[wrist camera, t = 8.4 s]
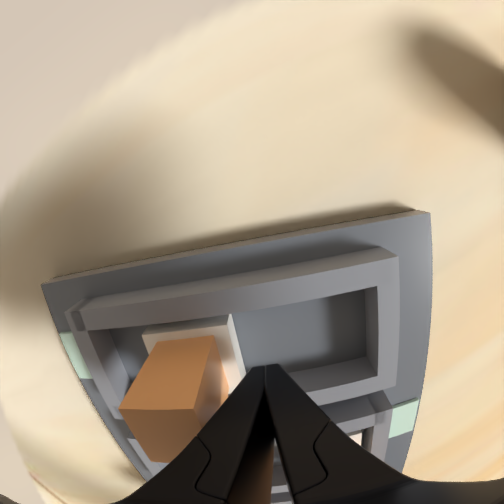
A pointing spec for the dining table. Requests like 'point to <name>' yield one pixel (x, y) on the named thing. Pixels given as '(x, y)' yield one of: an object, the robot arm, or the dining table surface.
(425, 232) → the switch board
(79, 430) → the dining table surface
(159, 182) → the dining table surface
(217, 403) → the tab
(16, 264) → the dining table surface
